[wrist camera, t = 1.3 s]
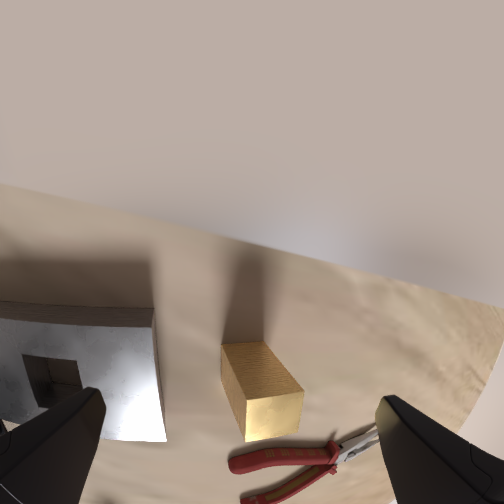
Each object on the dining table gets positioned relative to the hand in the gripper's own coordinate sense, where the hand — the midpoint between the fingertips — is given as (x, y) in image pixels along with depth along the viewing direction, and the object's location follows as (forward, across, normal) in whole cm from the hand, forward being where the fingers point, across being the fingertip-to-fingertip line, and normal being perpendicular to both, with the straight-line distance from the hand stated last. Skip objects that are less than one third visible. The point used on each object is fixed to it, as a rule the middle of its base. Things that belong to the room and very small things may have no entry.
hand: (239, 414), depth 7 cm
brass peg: (+14, 0, +8) cm, 16 cm away
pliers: (+14, -8, +27) cm, 31 cm away
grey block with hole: (+10, +15, +8) cm, 19 cm away
